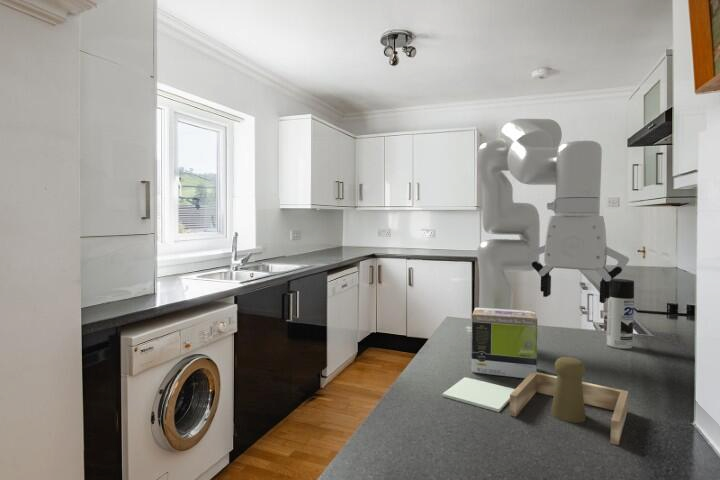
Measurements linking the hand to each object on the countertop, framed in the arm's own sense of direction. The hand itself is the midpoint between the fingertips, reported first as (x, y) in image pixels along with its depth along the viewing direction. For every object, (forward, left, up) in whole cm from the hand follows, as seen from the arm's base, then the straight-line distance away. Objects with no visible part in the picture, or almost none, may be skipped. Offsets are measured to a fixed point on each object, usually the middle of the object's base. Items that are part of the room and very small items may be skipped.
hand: (573, 298), depth 81 cm
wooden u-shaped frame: (0, +1, -23) cm, 23 cm away
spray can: (+3, +59, -23) cm, 63 cm away
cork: (0, 0, -23) cm, 23 cm away
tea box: (-18, +17, -23) cm, 34 cm away
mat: (-17, -1, -23) cm, 28 cm away
